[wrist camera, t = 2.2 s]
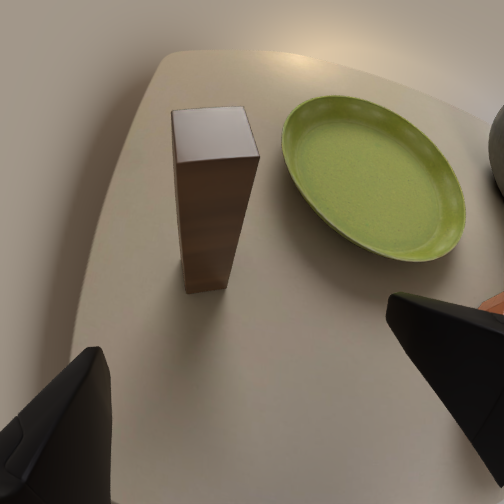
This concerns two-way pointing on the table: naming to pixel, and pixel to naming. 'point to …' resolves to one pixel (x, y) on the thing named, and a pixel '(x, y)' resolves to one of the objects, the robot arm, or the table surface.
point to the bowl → (497, 149)
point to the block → (211, 190)
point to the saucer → (374, 178)
